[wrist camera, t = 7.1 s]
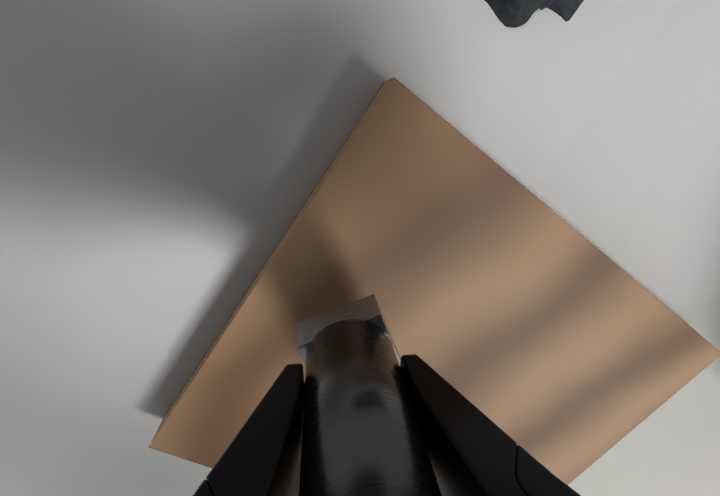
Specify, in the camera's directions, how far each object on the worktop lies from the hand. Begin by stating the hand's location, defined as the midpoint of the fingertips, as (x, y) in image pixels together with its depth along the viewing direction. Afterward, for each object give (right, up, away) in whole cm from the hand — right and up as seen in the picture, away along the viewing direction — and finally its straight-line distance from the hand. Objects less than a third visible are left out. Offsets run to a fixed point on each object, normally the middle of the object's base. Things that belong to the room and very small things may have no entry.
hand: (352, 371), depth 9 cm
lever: (+2, -5, +6) cm, 8 cm away
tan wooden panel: (+5, -3, +8) cm, 10 cm away
